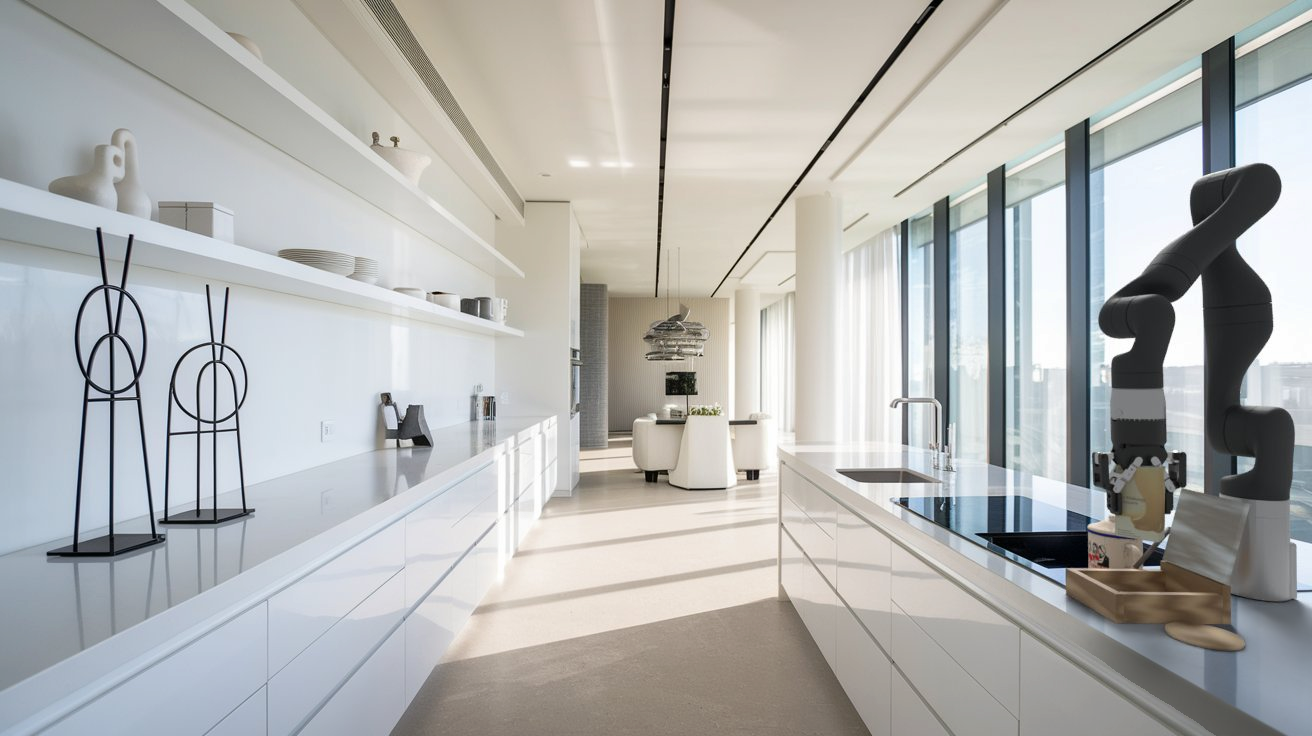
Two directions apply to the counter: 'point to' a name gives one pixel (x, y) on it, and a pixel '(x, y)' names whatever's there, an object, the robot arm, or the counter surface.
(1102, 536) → the teacup with lid
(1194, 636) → the cork mat
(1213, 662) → the counter surface
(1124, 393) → the robot arm
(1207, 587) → the cold frame
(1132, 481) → the skincare box
